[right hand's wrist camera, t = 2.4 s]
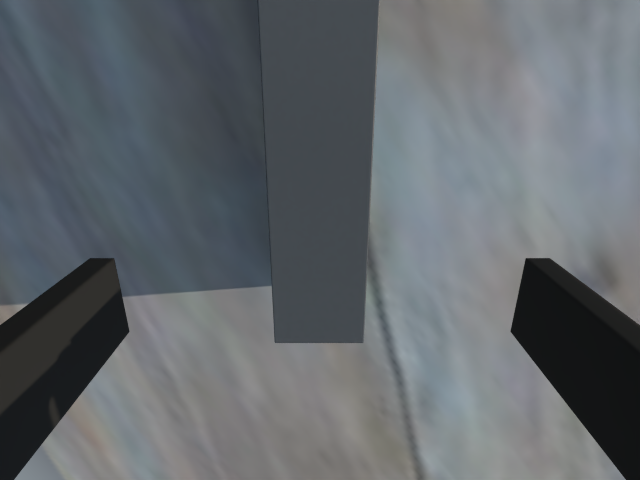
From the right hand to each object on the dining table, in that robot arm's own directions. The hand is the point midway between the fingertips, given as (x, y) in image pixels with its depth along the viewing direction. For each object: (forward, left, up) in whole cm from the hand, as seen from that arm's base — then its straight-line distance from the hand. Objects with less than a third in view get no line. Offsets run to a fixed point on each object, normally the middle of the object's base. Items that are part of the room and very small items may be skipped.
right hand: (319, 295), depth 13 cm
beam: (+20, +22, -15) cm, 34 cm away
